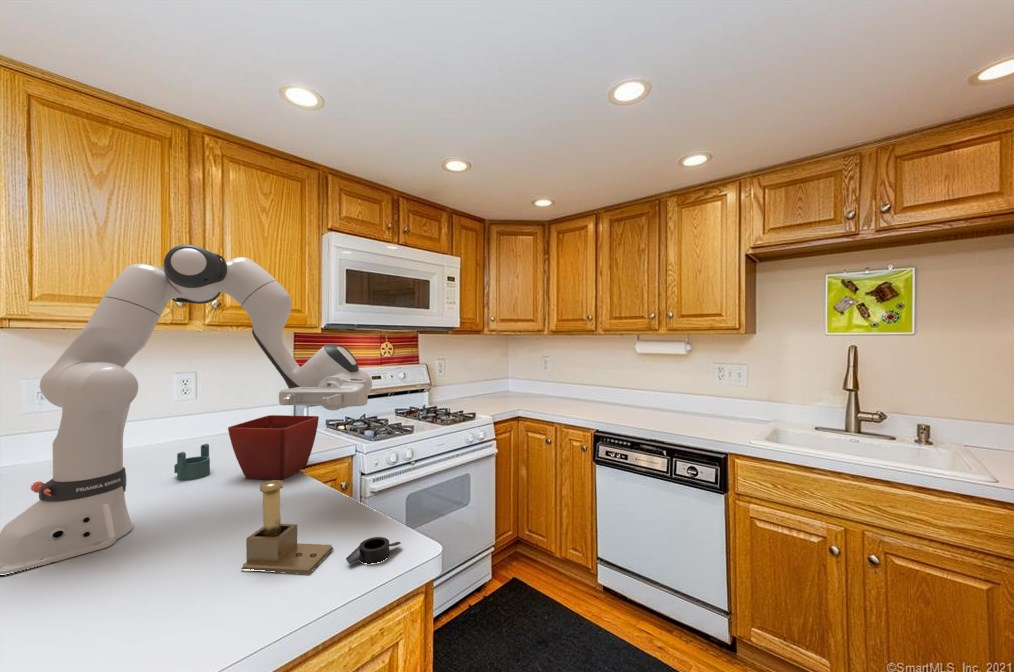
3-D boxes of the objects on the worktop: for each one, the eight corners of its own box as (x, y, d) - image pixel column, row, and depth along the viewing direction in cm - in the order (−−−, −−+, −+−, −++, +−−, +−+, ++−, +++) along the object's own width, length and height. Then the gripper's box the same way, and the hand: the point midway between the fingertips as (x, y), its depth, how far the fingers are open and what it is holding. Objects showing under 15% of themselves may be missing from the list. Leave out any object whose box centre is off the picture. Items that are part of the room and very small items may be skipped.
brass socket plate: (309, 574, 79) (309, 544, 79) (241, 571, 80) (241, 541, 80) (333, 550, 88) (333, 523, 88) (271, 547, 89) (271, 520, 89)
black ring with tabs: (353, 550, 89) (353, 536, 89) (402, 547, 90) (401, 533, 90) (343, 570, 81) (343, 555, 81) (397, 566, 82) (397, 552, 82)
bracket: (209, 470, 139) (209, 443, 139) (210, 477, 132) (209, 449, 132) (175, 475, 134) (174, 447, 134) (173, 483, 127) (173, 454, 127)
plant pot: (226, 482, 128) (225, 426, 128) (269, 462, 147) (269, 414, 147) (283, 485, 125) (283, 428, 125) (320, 465, 144) (320, 416, 144)
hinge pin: (268, 560, 82) (267, 488, 82) (256, 555, 84) (255, 485, 84) (288, 551, 85) (286, 481, 85) (276, 546, 87) (275, 478, 87)
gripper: (297, 380, 111) (262, 388, 97) (372, 380, 109) (347, 387, 95) (297, 404, 111) (262, 415, 97) (373, 404, 109) (348, 415, 95)
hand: (305, 401), depth 96 cm, fingers open, 8 cm apart
